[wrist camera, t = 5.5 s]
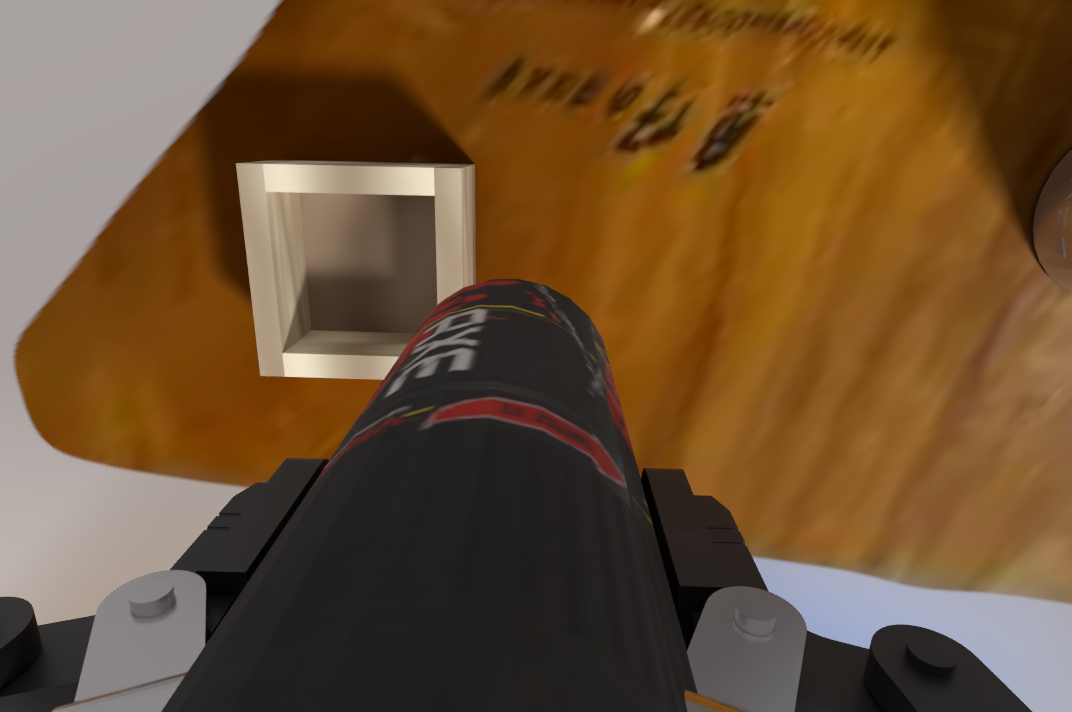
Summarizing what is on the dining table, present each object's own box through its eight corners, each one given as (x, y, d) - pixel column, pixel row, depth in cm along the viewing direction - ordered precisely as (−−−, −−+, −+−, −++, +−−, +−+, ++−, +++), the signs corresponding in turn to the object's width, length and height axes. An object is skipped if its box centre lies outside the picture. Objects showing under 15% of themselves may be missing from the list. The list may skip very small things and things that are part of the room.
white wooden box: (474, 164, 34) (461, 168, 29) (476, 350, 37) (464, 382, 32) (280, 159, 34) (235, 163, 29) (298, 345, 37) (260, 375, 33)
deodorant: (497, 503, 21) (388, 1300, 7) (365, 363, 19) (-135, 991, 5) (651, 392, 20) (926, 1082, 5) (522, 234, 18) (427, 596, 4)
